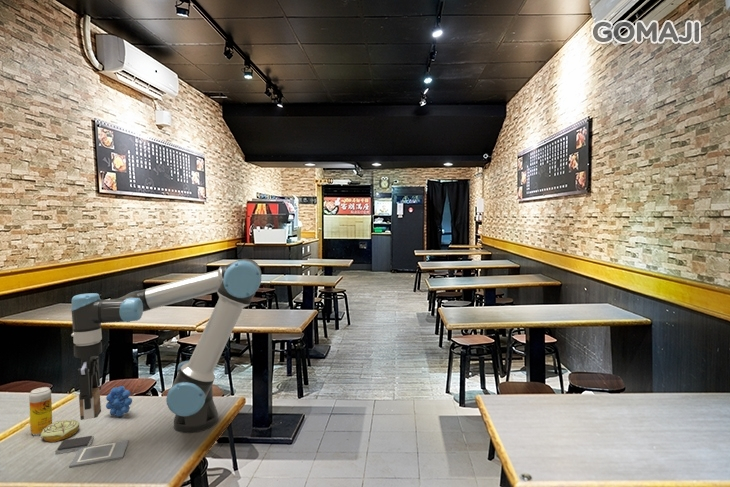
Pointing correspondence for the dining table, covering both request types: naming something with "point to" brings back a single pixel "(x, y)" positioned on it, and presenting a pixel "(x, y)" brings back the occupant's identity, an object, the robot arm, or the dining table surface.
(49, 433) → the decorated donut
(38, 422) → the beer can
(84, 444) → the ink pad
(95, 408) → the brown wooden block
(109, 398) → the grapes
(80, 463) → the board
